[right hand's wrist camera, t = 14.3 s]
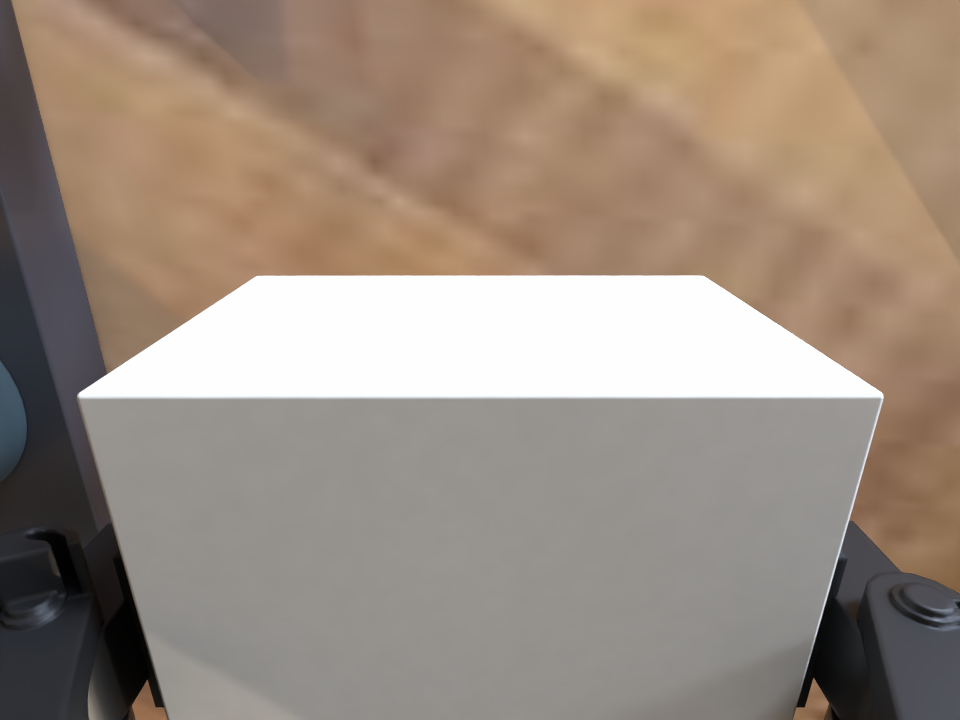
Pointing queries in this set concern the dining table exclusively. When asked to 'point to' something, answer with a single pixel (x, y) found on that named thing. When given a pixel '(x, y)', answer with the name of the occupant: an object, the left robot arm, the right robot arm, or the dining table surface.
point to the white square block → (480, 499)
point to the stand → (40, 325)
